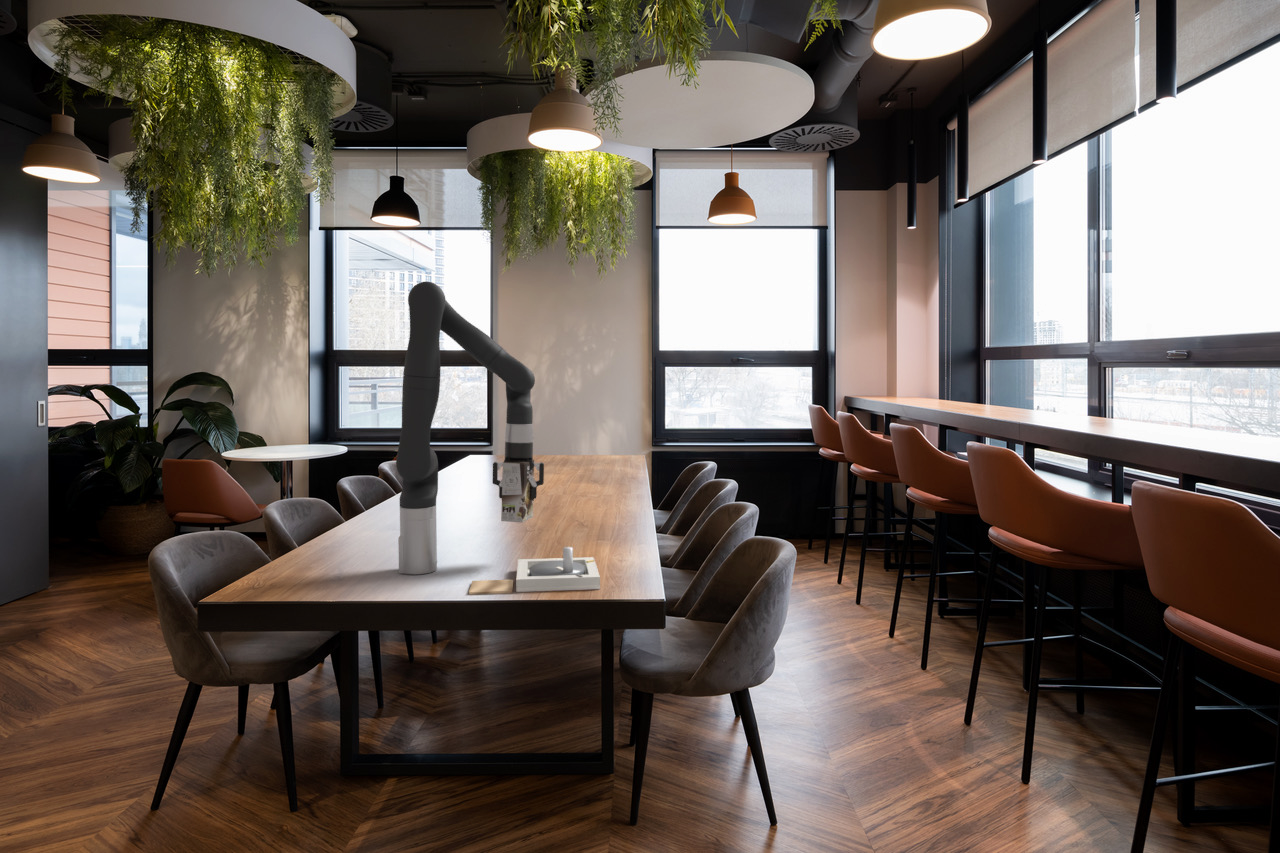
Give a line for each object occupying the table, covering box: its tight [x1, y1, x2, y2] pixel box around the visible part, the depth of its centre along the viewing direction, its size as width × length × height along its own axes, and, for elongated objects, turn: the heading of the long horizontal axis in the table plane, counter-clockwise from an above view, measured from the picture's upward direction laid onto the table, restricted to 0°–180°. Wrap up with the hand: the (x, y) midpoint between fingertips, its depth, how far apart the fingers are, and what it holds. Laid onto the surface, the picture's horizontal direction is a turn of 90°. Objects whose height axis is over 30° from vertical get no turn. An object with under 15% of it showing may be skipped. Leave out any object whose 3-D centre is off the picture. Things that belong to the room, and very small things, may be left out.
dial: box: [529, 546, 585, 576], centre depth 187 cm, size 14×14×8 cm
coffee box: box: [500, 459, 535, 523], centre depth 202 cm, size 9×6×16 cm
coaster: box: [468, 579, 514, 596], centre depth 179 cm, size 10×10×1 cm
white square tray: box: [515, 556, 601, 593], centre depth 187 cm, size 20×20×3 cm
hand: (517, 500), depth 202 cm, fingers closed on coffee box, 7 cm apart
